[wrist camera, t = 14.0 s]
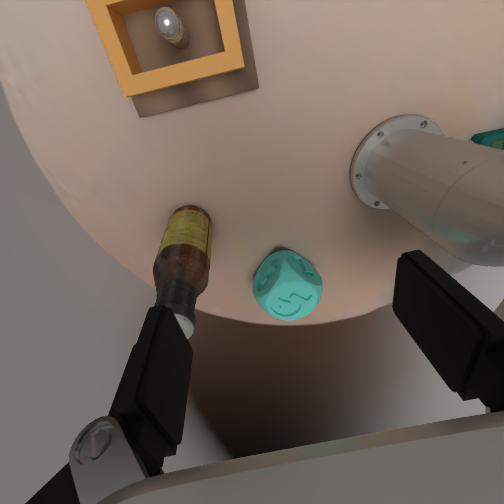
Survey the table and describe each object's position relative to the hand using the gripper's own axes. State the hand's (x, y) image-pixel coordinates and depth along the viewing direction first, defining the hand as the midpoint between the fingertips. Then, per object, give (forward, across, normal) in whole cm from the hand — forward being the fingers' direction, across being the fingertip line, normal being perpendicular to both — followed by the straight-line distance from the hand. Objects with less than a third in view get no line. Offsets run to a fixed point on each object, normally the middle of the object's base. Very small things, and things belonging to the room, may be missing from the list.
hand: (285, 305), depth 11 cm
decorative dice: (+29, -2, +20) cm, 35 cm away
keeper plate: (+28, +4, -13) cm, 31 cm away
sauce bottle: (+28, +10, +8) cm, 31 cm away
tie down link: (+27, +4, -13) cm, 30 cm away
